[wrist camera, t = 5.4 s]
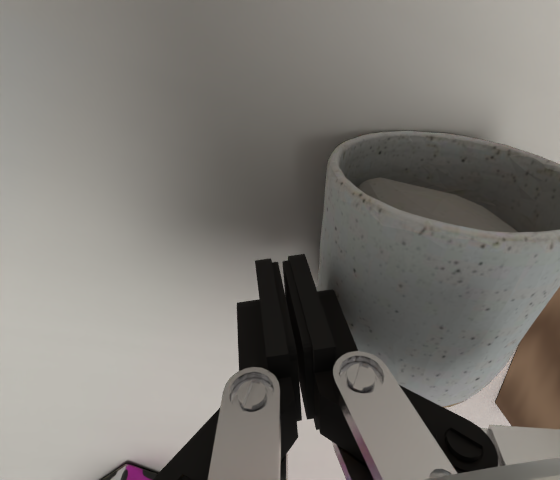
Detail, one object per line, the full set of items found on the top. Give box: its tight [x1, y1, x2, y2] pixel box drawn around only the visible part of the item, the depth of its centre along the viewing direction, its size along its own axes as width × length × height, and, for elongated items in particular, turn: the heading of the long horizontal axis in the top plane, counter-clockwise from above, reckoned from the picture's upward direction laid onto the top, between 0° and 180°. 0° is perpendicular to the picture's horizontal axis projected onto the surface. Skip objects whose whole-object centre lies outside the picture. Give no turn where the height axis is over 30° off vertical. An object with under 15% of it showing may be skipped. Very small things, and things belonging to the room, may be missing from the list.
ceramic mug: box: [316, 131, 560, 408], centre depth 13 cm, size 11×8×8 cm
